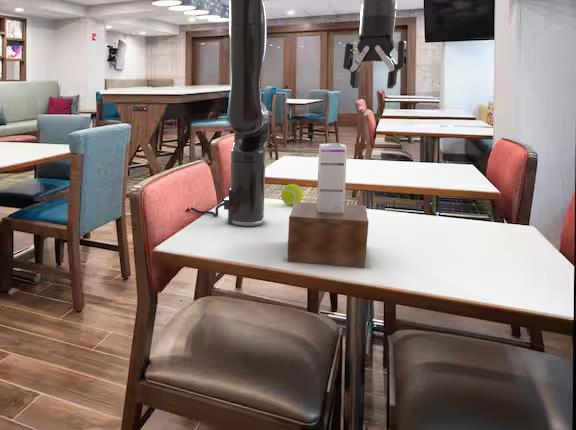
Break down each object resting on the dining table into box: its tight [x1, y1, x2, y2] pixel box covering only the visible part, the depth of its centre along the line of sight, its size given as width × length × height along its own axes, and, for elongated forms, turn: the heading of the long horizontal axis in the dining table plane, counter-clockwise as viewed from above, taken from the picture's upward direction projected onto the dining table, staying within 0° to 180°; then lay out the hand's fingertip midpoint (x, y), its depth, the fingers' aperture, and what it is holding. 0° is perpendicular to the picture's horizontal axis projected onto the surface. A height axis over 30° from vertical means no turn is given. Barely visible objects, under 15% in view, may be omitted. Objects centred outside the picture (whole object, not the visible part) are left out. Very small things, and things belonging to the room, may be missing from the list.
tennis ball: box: [280, 183, 304, 207], centre depth 169 cm, size 7×7×7 cm
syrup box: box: [316, 142, 348, 214], centre depth 117 cm, size 6×6×14 cm
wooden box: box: [286, 201, 369, 269], centre depth 120 cm, size 16×15×10 cm
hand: (372, 88), depth 128 cm, fingers open, 8 cm apart
